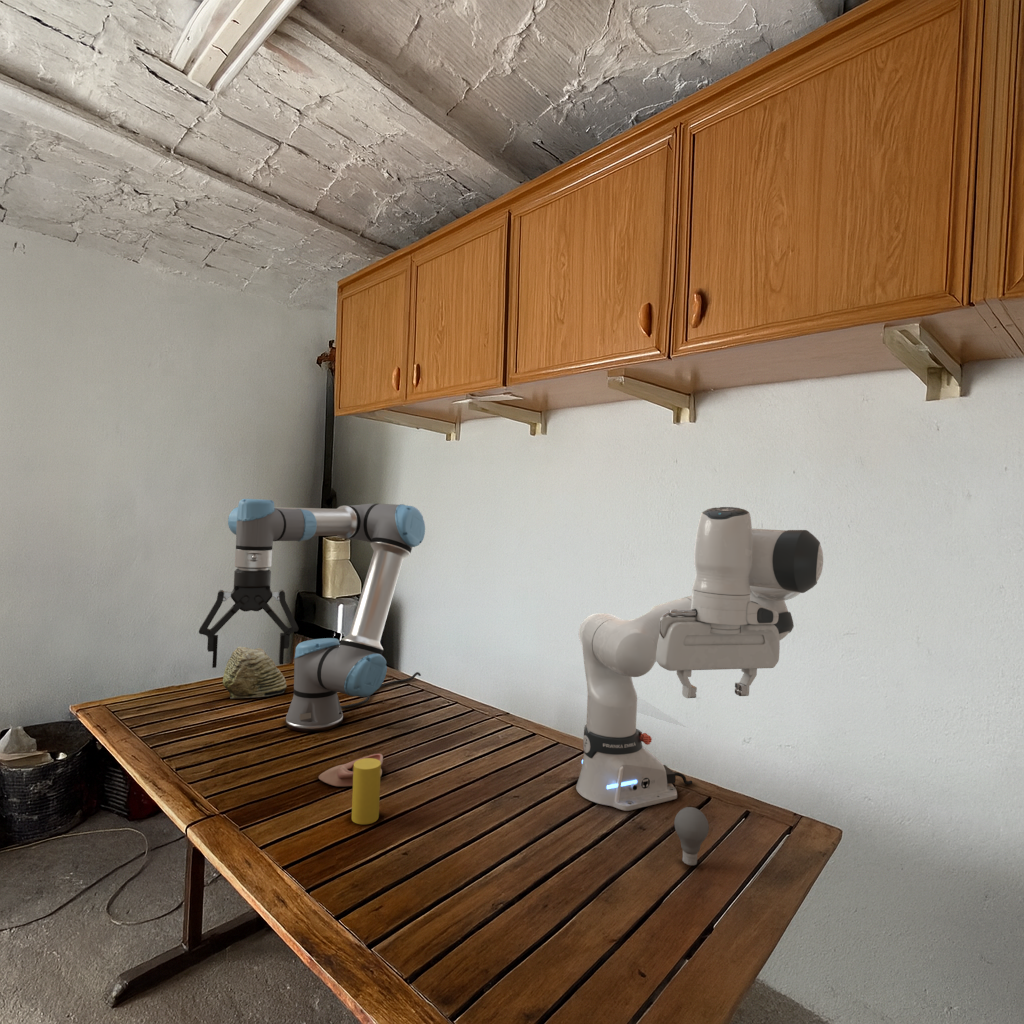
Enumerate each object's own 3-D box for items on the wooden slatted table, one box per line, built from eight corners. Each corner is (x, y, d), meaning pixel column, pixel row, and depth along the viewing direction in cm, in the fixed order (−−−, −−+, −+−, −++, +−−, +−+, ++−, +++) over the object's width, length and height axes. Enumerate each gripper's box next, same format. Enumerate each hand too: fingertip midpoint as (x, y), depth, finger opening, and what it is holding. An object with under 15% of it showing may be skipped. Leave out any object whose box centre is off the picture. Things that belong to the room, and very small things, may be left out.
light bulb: (667, 854, 117) (670, 800, 117) (699, 854, 118) (702, 801, 117) (679, 873, 111) (681, 817, 111) (712, 873, 112) (715, 817, 111)
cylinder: (346, 821, 124) (348, 766, 124) (360, 809, 129) (362, 756, 129) (369, 826, 123) (372, 771, 122) (383, 814, 128) (385, 760, 127)
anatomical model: (312, 765, 139) (336, 745, 151) (311, 783, 139) (336, 762, 151) (368, 773, 137) (389, 752, 148) (367, 791, 137) (388, 769, 148)
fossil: (218, 695, 195) (220, 647, 195) (278, 685, 208) (279, 640, 207) (228, 703, 189) (230, 653, 188) (289, 692, 201) (290, 645, 201)
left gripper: (188, 570, 131) (183, 672, 131) (313, 571, 141) (309, 665, 141) (191, 566, 138) (186, 663, 138) (310, 567, 148) (305, 657, 148)
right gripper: (670, 613, 95) (666, 705, 95) (787, 613, 100) (783, 700, 100) (651, 605, 101) (646, 692, 101) (762, 606, 106) (758, 688, 106)
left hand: (248, 664), depth 140 cm, fingers open, 13 cm apart
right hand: (715, 696), depth 101 cm, fingers open, 8 cm apart
